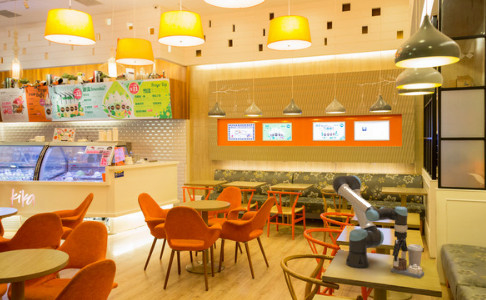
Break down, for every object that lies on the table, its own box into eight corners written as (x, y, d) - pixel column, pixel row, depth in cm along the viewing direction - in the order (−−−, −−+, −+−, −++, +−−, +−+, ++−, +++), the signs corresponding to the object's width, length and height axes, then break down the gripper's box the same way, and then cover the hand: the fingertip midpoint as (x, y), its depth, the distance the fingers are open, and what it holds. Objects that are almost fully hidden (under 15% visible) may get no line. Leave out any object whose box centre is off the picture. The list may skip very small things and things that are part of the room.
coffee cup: (423, 271, 257) (424, 248, 257) (408, 269, 259) (408, 247, 259) (420, 266, 267) (421, 244, 266) (405, 265, 269) (405, 243, 268)
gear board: (390, 271, 255) (390, 261, 254) (395, 268, 261) (395, 258, 261) (419, 278, 243) (419, 267, 243) (424, 275, 250) (424, 264, 249)
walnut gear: (403, 271, 250) (404, 262, 249) (391, 268, 255) (391, 259, 254) (408, 268, 255) (408, 259, 255) (395, 265, 261) (396, 256, 260)
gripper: (399, 235, 243) (398, 269, 243) (413, 228, 261) (412, 260, 262) (387, 233, 247) (386, 266, 248) (401, 227, 266) (400, 258, 267)
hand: (399, 263), depth 255 cm, fingers open, 13 cm apart
